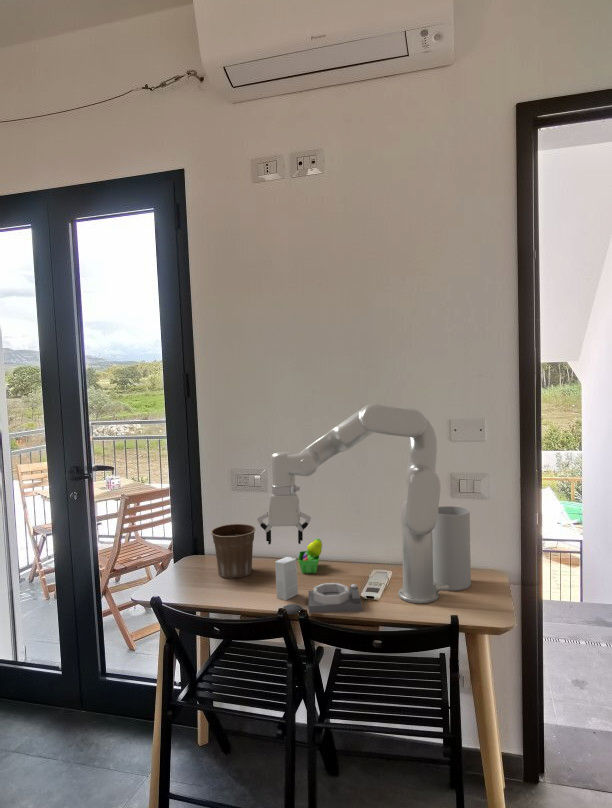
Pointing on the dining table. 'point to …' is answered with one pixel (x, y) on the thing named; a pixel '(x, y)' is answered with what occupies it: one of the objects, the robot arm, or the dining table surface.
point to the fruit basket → (310, 557)
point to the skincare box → (286, 578)
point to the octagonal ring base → (334, 598)
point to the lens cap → (292, 609)
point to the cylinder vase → (452, 548)
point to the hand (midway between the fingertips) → (284, 542)
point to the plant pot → (234, 549)
